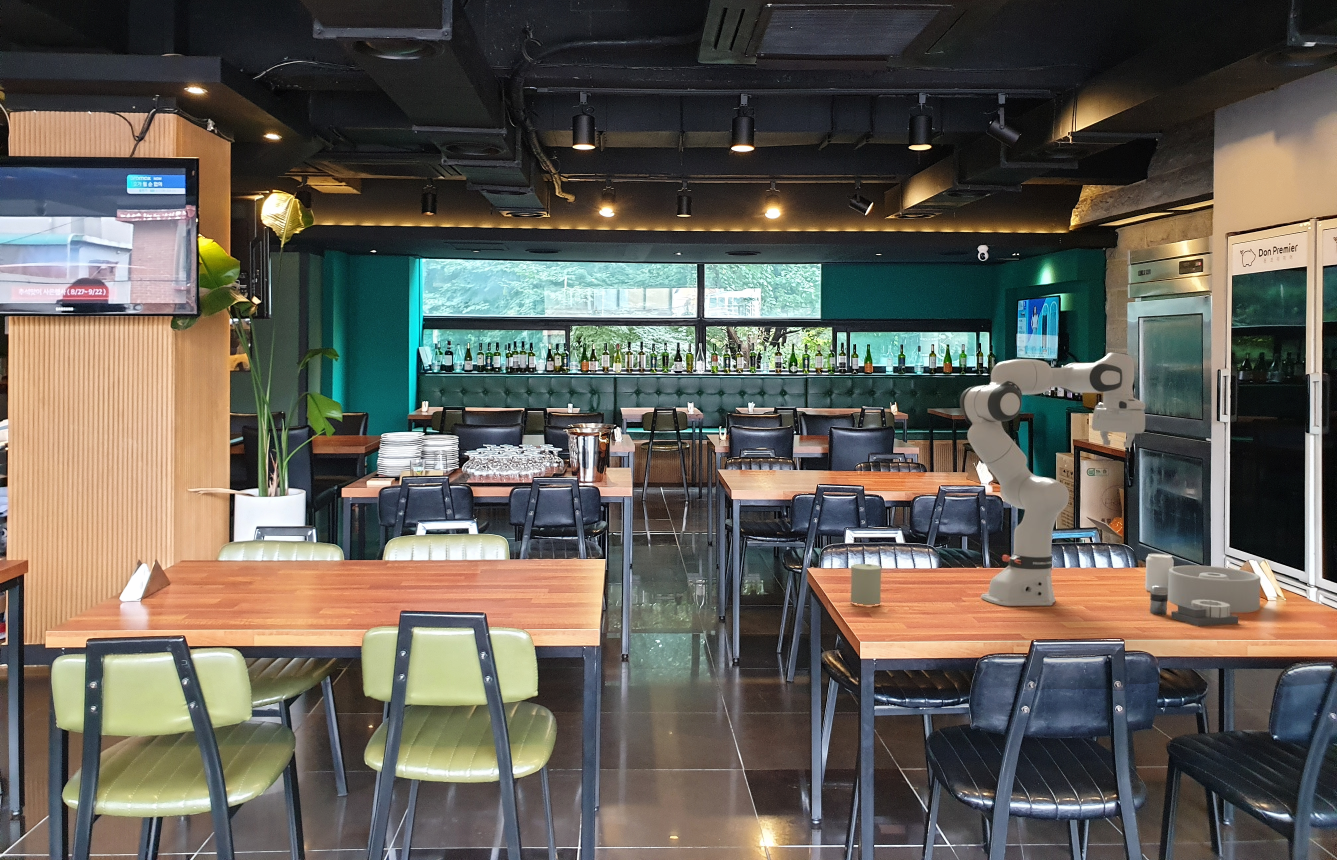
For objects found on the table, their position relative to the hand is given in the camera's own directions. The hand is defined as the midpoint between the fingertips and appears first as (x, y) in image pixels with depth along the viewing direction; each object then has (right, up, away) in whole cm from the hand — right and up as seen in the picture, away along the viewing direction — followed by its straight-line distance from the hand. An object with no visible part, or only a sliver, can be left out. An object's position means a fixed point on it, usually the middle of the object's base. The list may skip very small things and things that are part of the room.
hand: (1116, 446), depth 320 cm
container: (+25, -49, -10) cm, 56 cm away
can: (-84, -48, -15) cm, 98 cm away
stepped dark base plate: (+10, -50, -33) cm, 61 cm away
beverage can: (+17, -48, +7) cm, 52 cm away
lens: (+1, -49, -24) cm, 55 cm away
